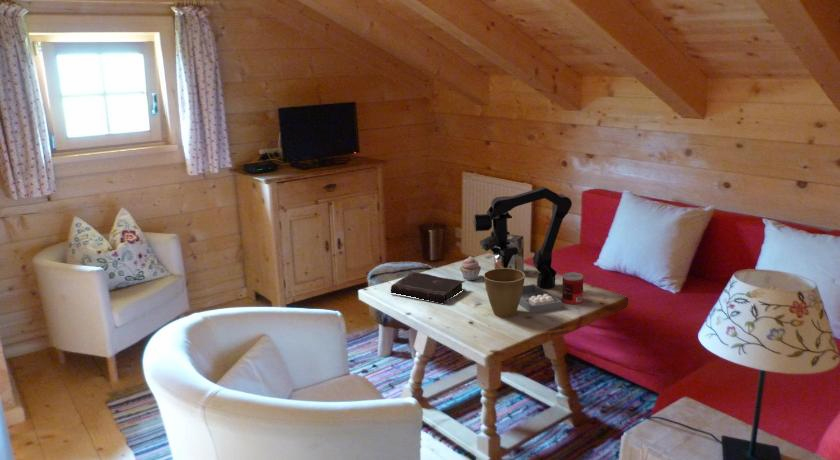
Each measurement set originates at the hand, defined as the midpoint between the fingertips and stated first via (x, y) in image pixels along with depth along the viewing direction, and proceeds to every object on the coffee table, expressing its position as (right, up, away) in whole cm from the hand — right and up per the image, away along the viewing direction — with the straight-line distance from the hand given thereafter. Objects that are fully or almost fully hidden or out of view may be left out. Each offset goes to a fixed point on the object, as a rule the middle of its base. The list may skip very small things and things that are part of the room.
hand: (501, 266), depth 267 cm
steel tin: (0, -2, 0) cm, 2 cm away
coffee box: (+8, -4, +25) cm, 26 cm away
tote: (+11, -14, -12) cm, 21 cm away
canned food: (+26, -13, -12) cm, 32 cm away
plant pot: (-2, -17, -22) cm, 28 cm away
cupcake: (-11, -6, +20) cm, 23 cm away
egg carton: (+13, -14, -18) cm, 26 cm away
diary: (-29, -11, +5) cm, 32 cm away
